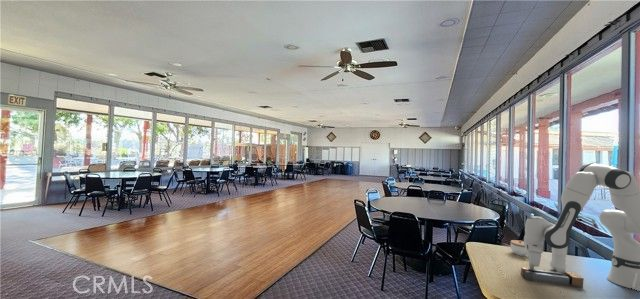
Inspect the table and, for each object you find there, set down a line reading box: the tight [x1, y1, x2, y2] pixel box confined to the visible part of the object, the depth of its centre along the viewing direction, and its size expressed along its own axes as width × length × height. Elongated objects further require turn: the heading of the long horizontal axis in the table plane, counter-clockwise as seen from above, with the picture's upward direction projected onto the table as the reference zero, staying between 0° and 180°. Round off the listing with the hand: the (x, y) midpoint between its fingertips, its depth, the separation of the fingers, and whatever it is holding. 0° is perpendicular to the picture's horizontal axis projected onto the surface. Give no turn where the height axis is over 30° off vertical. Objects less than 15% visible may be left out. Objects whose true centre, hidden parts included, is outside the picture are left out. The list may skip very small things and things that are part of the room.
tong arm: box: [520, 266, 567, 278], centre depth 157 cm, size 21×3×4 cm, turn 77°
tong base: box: [523, 270, 585, 289], centre depth 154 cm, size 26×7×5 cm, turn 78°
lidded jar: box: [510, 239, 527, 257], centre depth 192 cm, size 11×11×9 cm
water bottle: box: [550, 245, 569, 273], centre depth 168 cm, size 7×7×25 cm
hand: (531, 268), depth 163 cm, fingers closed
